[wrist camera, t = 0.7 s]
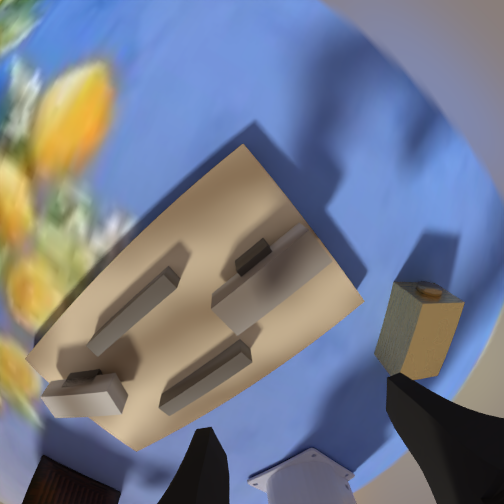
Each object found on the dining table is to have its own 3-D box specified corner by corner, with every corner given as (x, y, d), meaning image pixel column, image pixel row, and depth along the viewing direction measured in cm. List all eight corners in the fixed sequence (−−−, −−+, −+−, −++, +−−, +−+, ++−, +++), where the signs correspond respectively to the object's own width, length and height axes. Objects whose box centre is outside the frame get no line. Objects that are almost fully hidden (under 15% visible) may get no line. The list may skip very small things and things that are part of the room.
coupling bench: (355, 292, 20) (384, 321, 16) (139, 439, 22) (131, 475, 18) (241, 145, 17) (247, 138, 13) (33, 349, 19) (8, 378, 15)
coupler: (434, 277, 21) (466, 296, 17) (411, 353, 22) (435, 379, 19) (394, 275, 20) (424, 297, 16) (371, 357, 22) (393, 387, 18)
